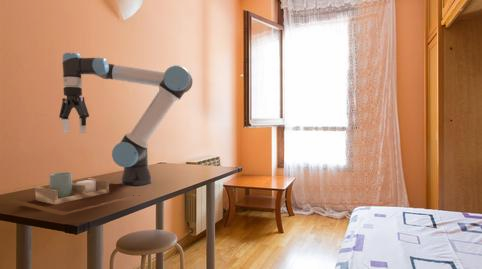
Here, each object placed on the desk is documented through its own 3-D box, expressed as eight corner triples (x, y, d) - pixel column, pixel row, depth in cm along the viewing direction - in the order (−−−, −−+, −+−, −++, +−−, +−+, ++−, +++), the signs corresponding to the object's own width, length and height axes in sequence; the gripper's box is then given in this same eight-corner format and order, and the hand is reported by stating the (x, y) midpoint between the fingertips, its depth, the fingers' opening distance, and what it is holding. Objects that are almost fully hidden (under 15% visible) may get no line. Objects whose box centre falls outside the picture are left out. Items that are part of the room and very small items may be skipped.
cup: (48, 202, 122) (47, 175, 121) (51, 197, 129) (50, 173, 128) (71, 199, 125) (70, 174, 124) (73, 195, 132) (72, 171, 131)
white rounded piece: (89, 190, 141) (89, 179, 141) (99, 192, 137) (99, 181, 137) (72, 194, 135) (72, 182, 135) (83, 196, 131) (82, 184, 131)
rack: (89, 191, 145) (89, 178, 145) (109, 195, 137) (108, 180, 137) (35, 202, 126) (35, 187, 125) (55, 207, 118) (54, 190, 118)
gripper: (50, 88, 151) (51, 133, 152) (80, 84, 138) (82, 133, 139) (65, 89, 158) (67, 132, 159) (96, 85, 145) (97, 132, 145)
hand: (74, 133), depth 149 cm, fingers open, 13 cm apart
